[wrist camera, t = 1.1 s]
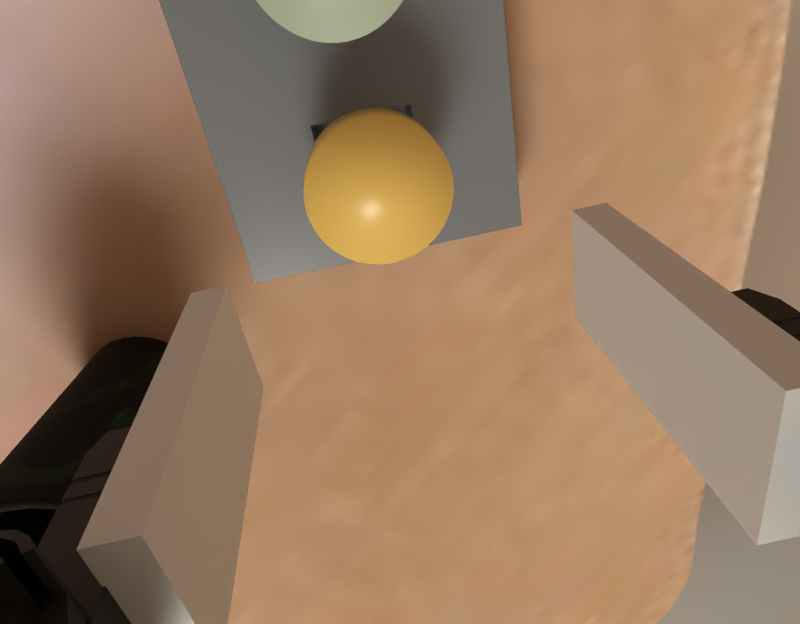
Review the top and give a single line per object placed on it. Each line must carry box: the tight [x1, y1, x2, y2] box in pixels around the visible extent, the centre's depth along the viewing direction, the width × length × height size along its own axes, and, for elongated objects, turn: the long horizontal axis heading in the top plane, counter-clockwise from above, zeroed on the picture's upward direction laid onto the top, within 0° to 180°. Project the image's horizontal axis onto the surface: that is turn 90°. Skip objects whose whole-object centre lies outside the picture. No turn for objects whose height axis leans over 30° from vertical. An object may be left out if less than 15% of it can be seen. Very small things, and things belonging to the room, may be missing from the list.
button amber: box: [303, 108, 454, 264], centre depth 22 cm, size 5×5×4 cm
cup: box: [0, 337, 168, 547], centre depth 25 cm, size 8×8×12 cm
